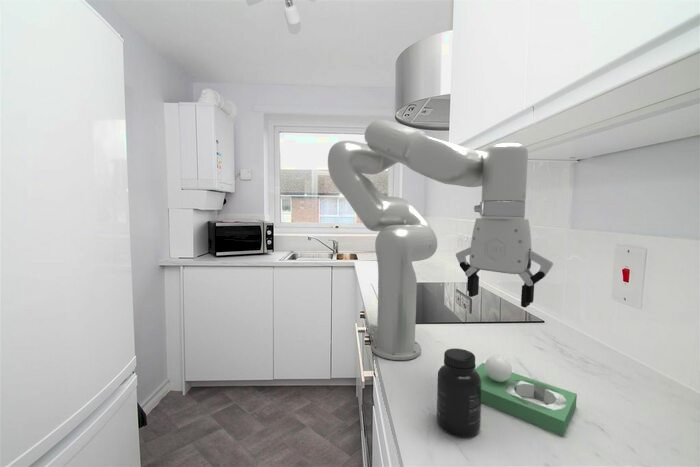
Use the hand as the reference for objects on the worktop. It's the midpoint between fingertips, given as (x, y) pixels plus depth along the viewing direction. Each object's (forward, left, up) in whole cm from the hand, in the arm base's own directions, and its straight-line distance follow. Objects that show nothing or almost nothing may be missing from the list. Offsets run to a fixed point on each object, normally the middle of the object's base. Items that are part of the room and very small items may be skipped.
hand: (498, 300), depth 63 cm
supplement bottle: (-1, -14, -18) cm, 23 cm away
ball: (+1, 0, -13) cm, 13 cm away
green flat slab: (+4, 0, -18) cm, 19 cm away
